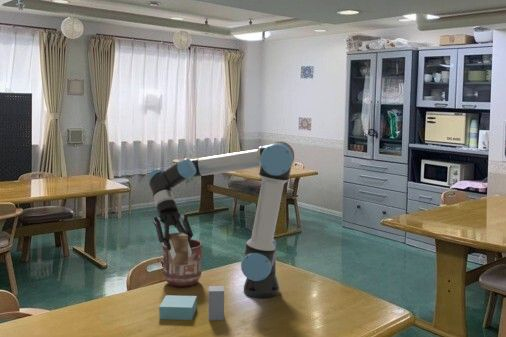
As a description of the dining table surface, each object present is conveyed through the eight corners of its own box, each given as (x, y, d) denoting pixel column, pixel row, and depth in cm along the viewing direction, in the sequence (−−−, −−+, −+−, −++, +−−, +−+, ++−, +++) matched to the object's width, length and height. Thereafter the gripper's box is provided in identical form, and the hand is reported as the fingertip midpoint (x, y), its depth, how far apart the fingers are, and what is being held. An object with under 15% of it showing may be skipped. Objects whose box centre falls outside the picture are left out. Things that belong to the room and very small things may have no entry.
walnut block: (182, 260, 203) (182, 232, 201) (187, 264, 198) (187, 235, 197) (168, 262, 200) (168, 233, 199) (174, 266, 195) (173, 236, 194)
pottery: (153, 284, 233) (153, 244, 231) (180, 274, 247) (181, 236, 245) (183, 293, 223) (183, 251, 221) (210, 282, 237) (210, 242, 235)
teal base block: (196, 308, 207) (196, 296, 206) (191, 320, 195) (191, 307, 194) (165, 307, 207) (165, 295, 207) (159, 319, 195) (159, 306, 195)
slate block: (223, 314, 201) (223, 285, 199) (223, 320, 195) (224, 290, 194) (208, 314, 200) (208, 286, 199) (208, 320, 195) (209, 291, 193)
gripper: (185, 208, 215) (202, 257, 202) (140, 212, 206) (155, 264, 193) (190, 197, 210) (208, 247, 197) (144, 200, 200) (160, 253, 188)
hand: (182, 255), depth 195 cm, fingers closed on walnut block, 5 cm apart
